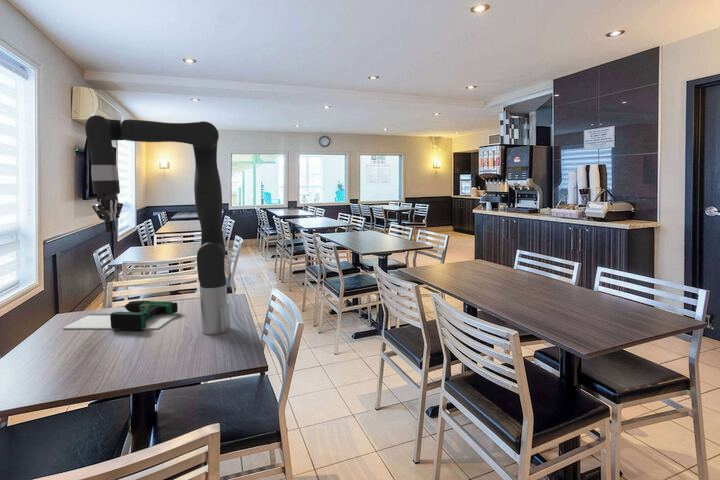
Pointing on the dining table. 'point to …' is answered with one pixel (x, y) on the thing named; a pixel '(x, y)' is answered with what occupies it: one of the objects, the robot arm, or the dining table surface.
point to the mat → (105, 323)
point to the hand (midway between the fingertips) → (111, 232)
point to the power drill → (140, 314)
